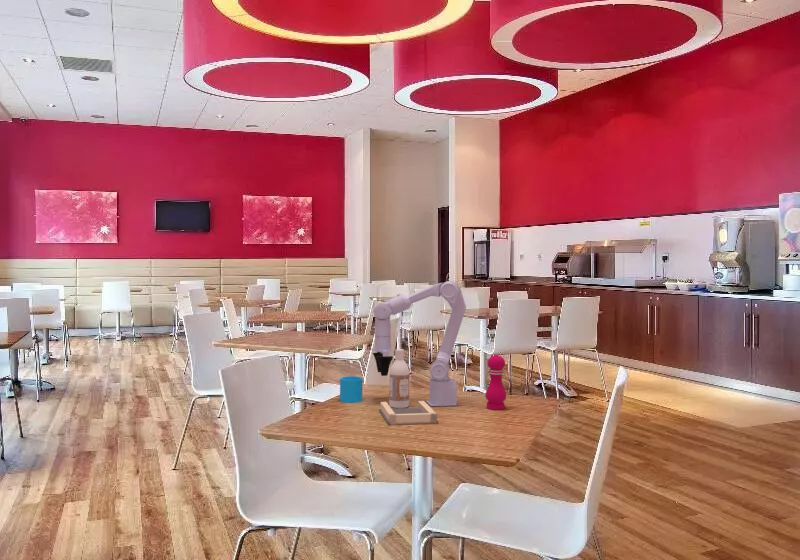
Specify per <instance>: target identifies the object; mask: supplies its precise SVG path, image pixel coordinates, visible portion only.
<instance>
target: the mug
mask: <svg viewBox="0 0 800 560" xmlns="http://www.w3.org/2000/svg"><path fill="white" fill-rule="evenodd" d="M339 380H340V381H339V401H340V402H341V403H348V404H353V403H361V402H362V401H363V377H361V376H349V375H348V376H341V377H340V378H339Z"/></svg>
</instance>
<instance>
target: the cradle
mask: <svg viewBox="0 0 800 560" xmlns="http://www.w3.org/2000/svg"><path fill="white" fill-rule="evenodd" d="M378 412H379V413H380V415H381V417H382V418H383V419H384V421H385V422H386V424H387V425H388V426H396V425H397V426H400V425H402V426H403V425H405V426H406V425H430V424H434V425H436V424H439V420H438V413H437V412H436V411H435V410H433V408H432V407H431V406H430V405H429V404H428V403H427V402H425V401H424V400H418V401H417V407H409V408H408V407H406V408H392V407H390V406H389V402H387V401H380V407H379V408H378Z"/></svg>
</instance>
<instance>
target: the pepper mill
mask: <svg viewBox="0 0 800 560" xmlns="http://www.w3.org/2000/svg"><path fill="white" fill-rule="evenodd" d="M493 354H494V355H492V356H490V357H489V358H488V359H487V366H488V367H489V369H488V371H489V372H488V374H489V375H490V378H489V379H490V380H489V384H488V386H487V388H486V391H485V396H484V397H485V399H486V400H487V402H486V409H488V410H493V411H502V410H505V408H506V404H505V402H504V401H505V400H506V399H507V392H506V389H505V387H504V384H503V374H504V368H505V365H506V360H505V358H504V357H502V356H501V355H500V352H499V350H495V351H494V352H493Z"/></svg>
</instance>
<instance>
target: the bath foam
mask: <svg viewBox="0 0 800 560" xmlns="http://www.w3.org/2000/svg"><path fill="white" fill-rule="evenodd" d="M404 357H405V350H404V348H402V349H401V348H397V349H395V359H394V361H393V363H391V365H390V367H389V373H388V374H389V376H388V377H389V379H388V381H389V382H388V383H389V384H388V385H389V386H388V387H389V388H388V389H389V390H388V392H389V395H388V396H389V398H388V401H389V402H388V405H389V406H390V407H391V408H392V409H399V408H408V407H409V406H410V370H409V367H408V364H407V363H406V362H405V360H404V359H405V358H404Z"/></svg>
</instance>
